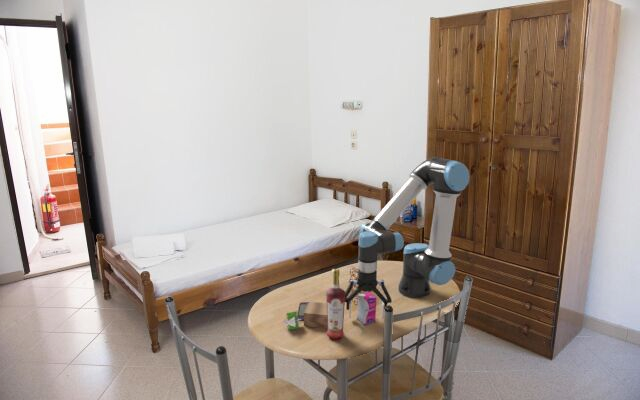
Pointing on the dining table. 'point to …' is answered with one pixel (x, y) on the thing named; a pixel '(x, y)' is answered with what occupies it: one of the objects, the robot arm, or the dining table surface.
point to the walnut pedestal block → (316, 315)
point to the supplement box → (366, 308)
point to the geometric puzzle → (292, 320)
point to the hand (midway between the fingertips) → (366, 316)
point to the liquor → (335, 307)
